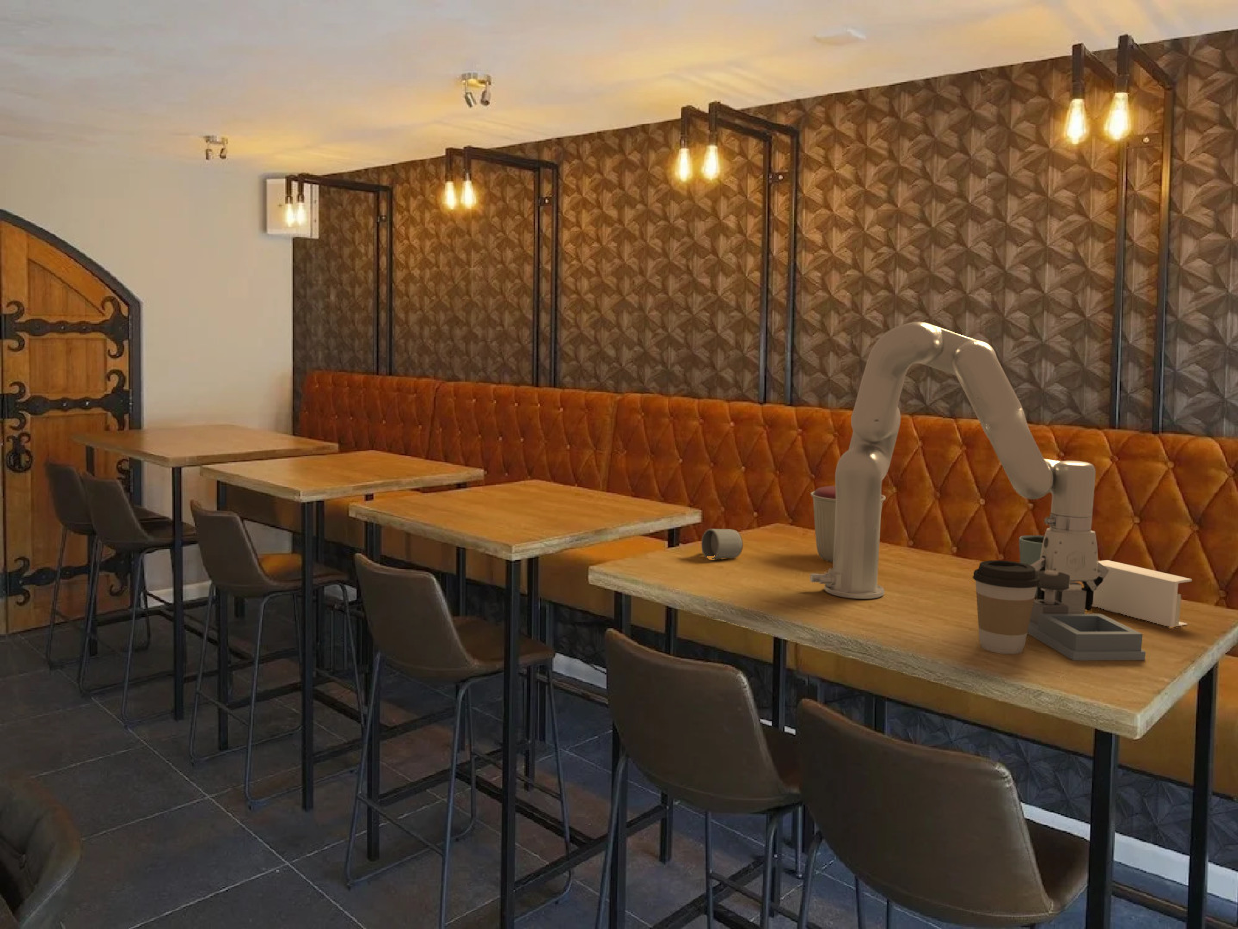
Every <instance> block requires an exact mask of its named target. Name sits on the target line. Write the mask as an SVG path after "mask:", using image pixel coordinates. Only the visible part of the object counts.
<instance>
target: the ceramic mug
mask: <svg viewBox="0 0 1238 929" xmlns="http://www.w3.org/2000/svg"><path fill="white" fill-rule="evenodd" d="M700 544H701V553H702V554H703V556H704V558H706V557H707V556H714V555H715V557H714V558H712V559H721V558H731V559H734V558H737V557H739V556H740V555H741V554H742V552H743V549H744V548H743V547H744V540H743V536H742V535H741V533H740V532H739V531H737V530H736V529H735V530H734V529H731V528H730V529H729V528H721V529H720V528H708V529H707V530H705V531H704V533H703V534H702V538H701V543H700ZM721 560H722V559H721Z"/></svg>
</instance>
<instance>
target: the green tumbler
mask: <svg viewBox="0 0 1238 929" xmlns="http://www.w3.org/2000/svg"><path fill="white" fill-rule="evenodd" d="M1044 536H1045V535H1042V534H1041V535H1040V534H1039V535H1037V534H1035V535H1031V534H1030V535H1021V536H1020V537H1019V539H1018V542H1019V544H1018V545H1019V563H1024V564H1028V565H1031V564H1033V563H1035V562H1036V561H1038V560H1040V556H1041V549H1042V544H1043V540H1044ZM1038 571H1039V570H1038ZM1037 591H1038V588H1037V589H1036V593H1035V597H1037Z"/></svg>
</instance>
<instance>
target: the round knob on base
mask: <svg viewBox="0 0 1238 929" xmlns="http://www.w3.org/2000/svg"><path fill="white" fill-rule="evenodd" d="M1036 575H1038V576H1039V577H1040V583H1041V584H1040V585H1039V586H1037V587H1039V588H1043V589H1045V595H1044V605H1054V601H1055V590H1066V589H1069V580H1070V576H1069V575H1067V574H1064V573H1060V572H1058V571H1054V570H1045V571H1036Z"/></svg>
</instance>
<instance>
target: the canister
mask: <svg viewBox="0 0 1238 929" xmlns="http://www.w3.org/2000/svg"><path fill="white" fill-rule="evenodd" d="M810 496H811V497H812V499H813V500H812V501H813V517H814V518H813V520H814V532H815V543H816V550H817V551H816V552H817V553H818V556H819V557H820V558H821V559H822V560H824V561H826V562H829V563H833V555H834V535H835V509H836V487H835V485H828V486H822V487H818V488H816V489H815V490H814V491H812V492H810ZM884 501H886V495H884V494H882V493H881V511H882V509H883V502H884Z"/></svg>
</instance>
